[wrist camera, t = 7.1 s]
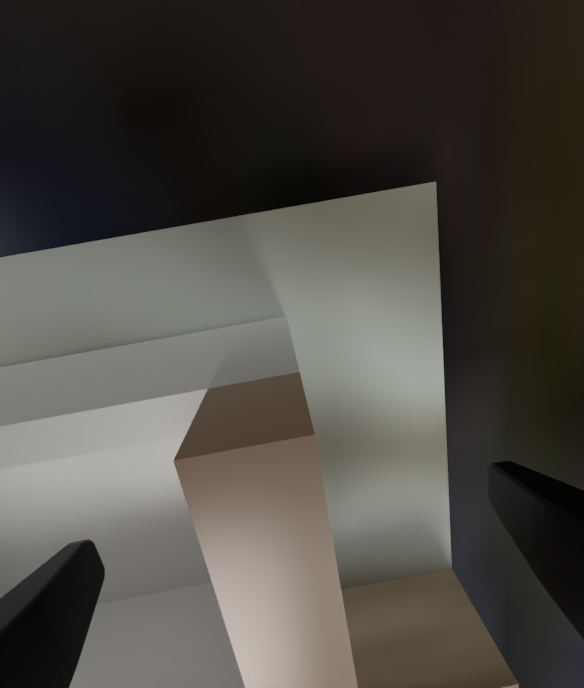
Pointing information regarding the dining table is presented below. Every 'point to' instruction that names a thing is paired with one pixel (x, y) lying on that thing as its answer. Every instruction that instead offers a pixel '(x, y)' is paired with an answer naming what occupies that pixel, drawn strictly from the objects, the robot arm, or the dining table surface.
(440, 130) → the dining table surface
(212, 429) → the drawer
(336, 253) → the beige shallow tray
